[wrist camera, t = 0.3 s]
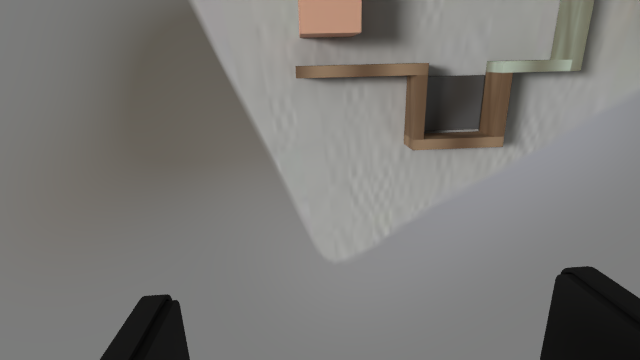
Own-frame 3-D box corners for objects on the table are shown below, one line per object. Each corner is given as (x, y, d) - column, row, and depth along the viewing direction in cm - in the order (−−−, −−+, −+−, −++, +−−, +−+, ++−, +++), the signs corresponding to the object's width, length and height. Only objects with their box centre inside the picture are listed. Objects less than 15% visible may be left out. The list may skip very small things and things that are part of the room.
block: (299, 37, 34) (300, 33, 29) (297, -22, 32) (297, -37, 27) (352, 36, 34) (361, 32, 29) (352, -23, 32) (362, -38, 28)
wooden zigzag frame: (299, 147, 37) (299, 154, 34) (285, -169, 29) (284, -194, 26) (545, 138, 38) (565, 144, 35) (599, -166, 30) (631, -189, 27)
